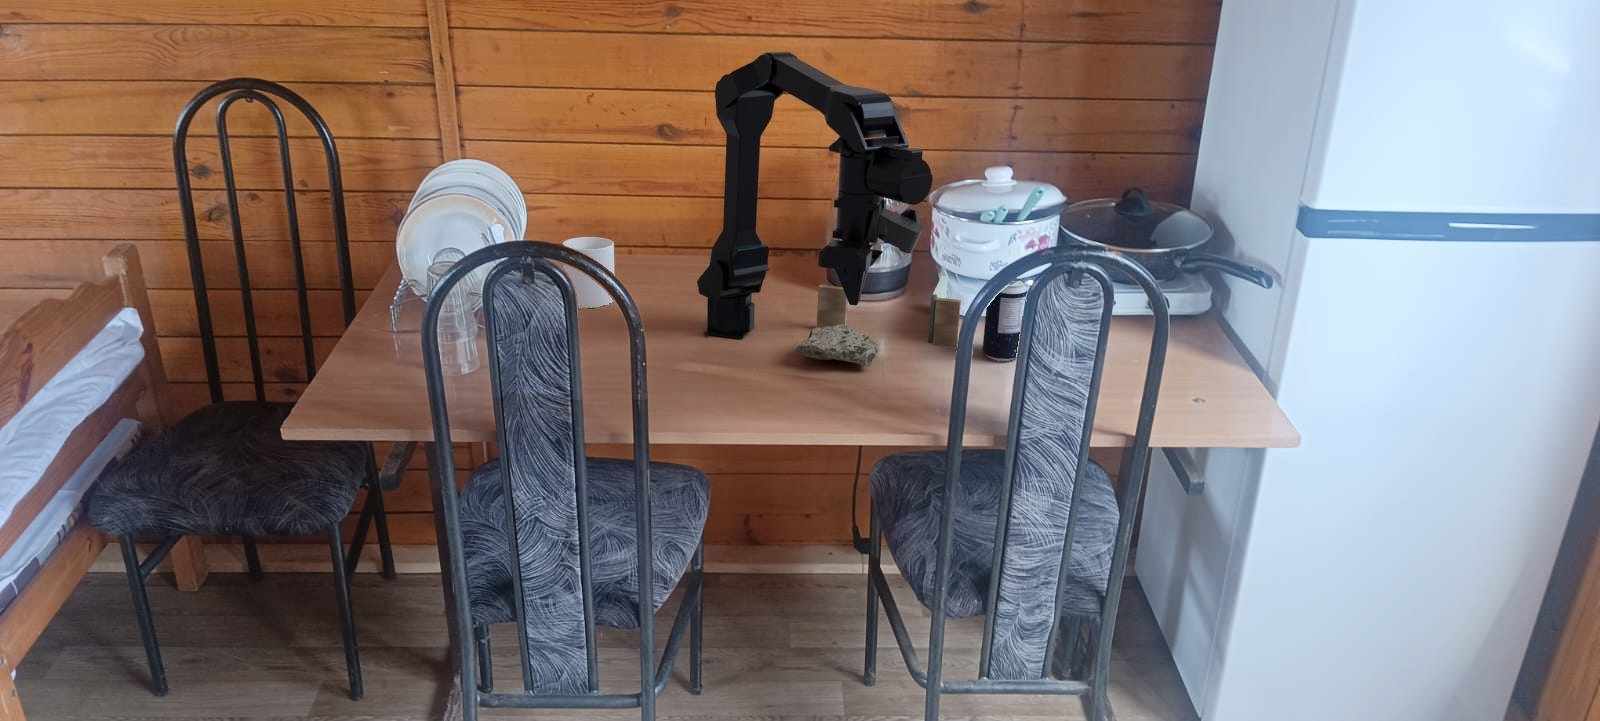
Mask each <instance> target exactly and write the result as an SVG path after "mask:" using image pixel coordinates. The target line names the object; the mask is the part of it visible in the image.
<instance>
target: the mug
mask: <svg viewBox="0 0 1600 721" xmlns="http://www.w3.org/2000/svg"><path fill="white" fill-rule="evenodd" d="M562 245H564V246H567V247H569V248H572V249H574V250H577V251H579V252H581V253H583V254H586V255H588V256H589V257H591V258H593V259H594V260H596V261H597V262H599V263H600V264H602V265H603V266H604V267H606V268H607V269H608V270H609V271H611V272H612V273H613V274H614V275H615V243H614V241H613V240H611V239H608V238H604V237H598V236H597V237H595V236H583V237H573V238H569V239H566V240H564V241H563V242H562ZM562 245H561V246H562ZM562 266H563V267H562V269H563V268H564V269H565V271H566V272H567V273H568V275H569V277H570V278H571V280H572V283H573V285H574V287H575V291H576V294H577V299H578V306H579V309H580V305H581V308H582V307H585V308H588V307H590V308H592V307H600V306H603V305H608V306H610V305H609V303H612V302H613V303H614V301H615V300H614V301H613V300H612V298H611V297H610V296H609V295H608V293H607V292H606V291H605V290H604V289H603V288H602V287H601V286H600V285H598V284H597V283H596V282H595V281H594V280H592V279H591V278H590V277H588V276H587V275H585V274H584V273H582V272H580V271H578V270H576V269H574V268H572V267H570V266H567V265H563V264H562ZM613 303H612V304H613ZM580 310H581V309H580Z"/></svg>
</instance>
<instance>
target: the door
mask: <svg viewBox="0 0 1600 721" xmlns="http://www.w3.org/2000/svg"><path fill="white" fill-rule="evenodd" d="M948 281H949V276H948V275H941V277H940V279H939V280H938V282H937V285H936V287H935V289H934V290H933V293H932V295H933V294H935V295H937V298H946V299H947V295H946V291H947V292H948V283H949V282H948ZM930 298H932V296H931V297H930ZM930 311H931V309H930Z"/></svg>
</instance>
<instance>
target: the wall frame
mask: <svg viewBox="0 0 1600 721" xmlns="http://www.w3.org/2000/svg"><path fill="white" fill-rule="evenodd" d="M817 291H818V292H817V308H816V309H817V312H816V313H817V314H816V327H820V328H823V327H827V326H834V325H840V324H844V325H847V322H848V321H847V320H848V304H849V302H848V300H847V297H846V295H845V292H844V290H843V287H842V286H836V285H835V286H834V285H827V284H826V285H824V284H820V285H819V286H818V290H817ZM931 297H932V298H931ZM931 297H930V298H931V299H930V310H931V311H930V312H929V313H930V315H929V324H928V325H929V326H928V327H929V328H928V336H927V337H928V340H927V342H928V343H930V344H933V345H943V346H950V347H957V346H958V339H959V338H958V335H959V326H960V316H961V314H960V313H961V304H962V303H961V302H962V300H961V299H956V298H955V299H953V298H947V297H946V298H937V295H935V294H933V293H932V294H931ZM847 326H848V325H847Z"/></svg>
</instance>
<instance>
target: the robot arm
mask: <svg viewBox="0 0 1600 721" xmlns="http://www.w3.org/2000/svg"><path fill="white" fill-rule="evenodd" d="M714 89H715V90H714V98H715V110H716V111H715V114H716V117H717V119H718V121H719V123H720V125H721V127H722V129H723V131H724V133H725V134H726V135H725V136H726V138H725V141H726V143H725V164H724V165H725V169H724V190H723V191H724V193H723V194H724V195H723V197H724V198H723V225H722V231H721V232H720V234H719V235H718V237H717V239H716V241H715V242H714V244H713V245H712V248H711V253H710V260H709V265H708V266H707V268H705V271H704V272H702V274H701V275H700V276H699V277H698V279H697V281H696V283H697V288H698V293H699V295H701V296H703V297H706V298H707V305H706V306H707V307H706V308H707V312H706V314H707V315H706V316H707V318H706V319H707V320H706V321H707V322H706V327H705V329H704V330H703V335H706V336H716V337H723V338H731V339H738V340H741V339H744V338H745V337H746V336H747V335H748V334H750V332H752V330H753V329H754V328H755V306H756V305H755V302H752V298H753V297H752V296H753V295H752V294H754V293H756V294H759V293H761V290H762V286H763V283H764V280H765V278H766V276H767V275H766V274H767V272H768V271H770V268H769V254H770V248H769V246H768V245H767V244H763V242H762V240H761V238H760V236H759V235H758V233H757V219H758V198H759V197H758V196H759V179H760V178H759V177H760V176H759V173H760V159H761V158H760V157H761V156H760V155H761V137H762V135H763V133H764V132H765V130H766V128H767V127H768V125H769V123H770V122H771V120H772V118H773V114H774V108H775V101H776V100H778V99H779V98H780V97H781V96H783V95H784V94H785V93H788V94H789V95H791V96H793V97H794V98H796V99H797V100H799V101H801V102H803V103H804V104H806V105H808V106H809V107H812V108H813V109H815V110H817V111H818V112H820V113H821V114H822V115H823V116H824V120H825V123H826V125H827V126H828V127H829V128H830V129H831V130H832V131H833V132H834V133H835V134H836V135H838V138H837V139H836V140H835V141H833V142H832V143H831V144H830V145H829V146H828V151H830V152H833V153H837V154H839V162H838V164H839V165H838V166H839V167H838V184H837V187H838V188H837V197H836V198H834V200H833V208H834V209H835V208H836V209H837V210H836V227H835V228H834V229H833V230H832V239H831V240H829V242H827V244H824V246H823V247H822V248H821V249H820V250H819V251H818V265H817V266H818V267H820V268H823V269H824V268H825V269H834V271H835V274H836V275H837V278H838V280H839V282H840V285H841V287H843V290H844V292H845V295H846V297H847V300H848V304H849V305H850V306H858V305H859V303H860V300H861V296H862V292H863V290H864V286H865V282H866V278H867V276H868V272H869V269H870V268H871V267H873V265H874V264H875V263H876V262H877V260H878V259H880V257H881V255H882V254H883V253H884V251H883V250H880V249H874V248H873V246H874V245H873V244H877V243H878V242H879V240H881V241H883V243H884V244H888V245H890V246H893V247H895V248H897V249H898V250H899V251H900V252H902V253H905V254H911V253H912V252H913V250H914V249H915V247H916V246H917V243H918V241H919V239H920V237H921V234H922V233H923V230H924V228H925V227H924V223H923V222H920V216H919V213H920V212H919V211H918V210H916V209H915V208H912V207H910V206H908V207H907V208H906V209H905V210H903V211H902V212H900V213H899V212H898V211H897V210H896V211H892V210H890V209H887V200H886V199H888V200H892V201H896V202H900V203H902V204H905V205H906V204H907V205H911V206H914V205H915V206H916V205H919V204H921V203H922V202H923V201H924V200H925V199H926V198H927V196H928V195H929V194H930V192H931V189H932V185H933V179H934V178H933V177H934V176H933V174H932V170H931V168H930V165H929V164H928V162H927V161H925V160H924V159H923V153H924V152H923V150H922V149H920V148H915V147H914V148H912V147H911V148H909V142H908V139H907V136H906V133H905V131H904V130H903V127H902V125H901V123H900V121H899V120H900V119H899V117H898V116H897V113H896V110H895V108H894V105H893V100H892V98H891V97H890V96H889V95H888V94H887V93H885V92H883V91H880V90H879V91H878V90H875V89H872V88H868V87H862V86H861V87H860V86H853V85H848V84H845V83H843V82H841V81H840V80H838V79H836V78H834V77H832V76H830V75H829V74H826V73H824V72H823V71H821V70H819V69H817V68H815V67H814V66H812V65H810V64H808V63H806V62H805V61H802V59H800V58H798V57H797V55H795V53H792V52H789V51H769V52H764V53H763V54H761V55H759V56H757V57H756V58H755V59H754V60H753V61H752V62H749V63H747V64H745V65H743V66H741V67H739V68H737V69H735V70H733V71H731V72H730V73H726V74H724V75H723V76H721V77H720V79H719V80H718V81H717V82H716V84H715V88H714Z"/></svg>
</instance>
